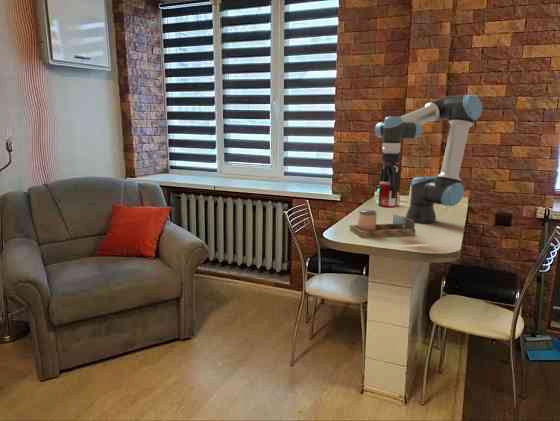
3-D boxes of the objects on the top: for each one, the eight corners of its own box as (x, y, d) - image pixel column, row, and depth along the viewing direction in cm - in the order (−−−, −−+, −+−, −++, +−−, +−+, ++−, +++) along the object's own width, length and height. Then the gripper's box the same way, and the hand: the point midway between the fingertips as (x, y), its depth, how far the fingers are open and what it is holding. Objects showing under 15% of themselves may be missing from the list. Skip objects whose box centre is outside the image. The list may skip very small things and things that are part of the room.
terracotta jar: (371, 230, 200) (372, 209, 198) (378, 234, 192) (379, 212, 190) (354, 231, 198) (355, 209, 196) (361, 235, 190) (362, 212, 189)
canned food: (399, 207, 192) (401, 183, 190) (383, 208, 190) (385, 183, 188) (390, 204, 199) (392, 181, 197) (375, 205, 197) (376, 181, 195)
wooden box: (401, 230, 205) (402, 216, 204) (414, 237, 194) (415, 221, 192) (349, 232, 200) (350, 217, 199) (360, 239, 188) (360, 223, 187)
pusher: (400, 228, 204) (401, 214, 202) (410, 233, 194) (411, 218, 193) (392, 228, 203) (393, 214, 201) (402, 233, 193) (403, 218, 192)
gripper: (373, 151, 199) (370, 200, 204) (393, 154, 180) (390, 208, 184) (388, 151, 201) (385, 200, 205) (410, 154, 181) (406, 207, 185)
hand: (387, 203), depth 194 cm, fingers closed on canned food, 8 cm apart
